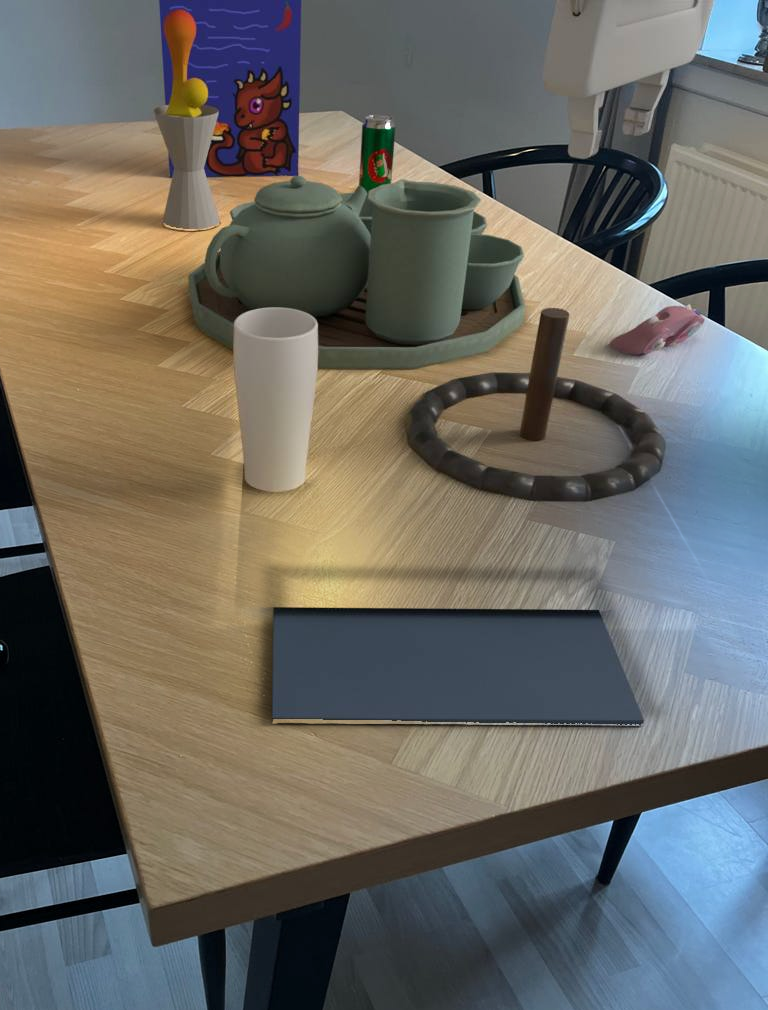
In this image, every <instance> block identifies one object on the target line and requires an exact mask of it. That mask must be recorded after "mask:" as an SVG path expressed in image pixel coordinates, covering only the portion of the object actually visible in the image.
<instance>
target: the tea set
mask: <svg viewBox="0 0 768 1010" xmlns="http://www.w3.org/2000/svg"><path fill="white" fill-rule="evenodd" d="M253 200H254V201H250V202H245V203H241V204H238V205H236V206H235V207H234V208H233V209H231V210H230V211H229V214H230V217H231V222H230V223H229V225H227V226H224V227H221V229H220V230H218V232H217V233H215V235H214V236H213V237H212V239H211V241H210V243H209V245H208V246H207V249H206V253H205V258H204V263H202V264H201V265H199V266H198V267H197V268H196V269H195V270H193V271H192V272H190V273H189V274H188V279H187V280H188V292H189V299H190V304H191V310H192V314H193V320H194V323H195V325H196V327H197V328H198V331H200V332H201V333H203V334H205V335H206V336H208V337H209V338H211V339H212V340H215V341H216V342H218V343H219V344H221V345H222V346H224V347H226V348H227V349H229V350H231V351H232V352H233V337H234V321H235V320H236V318H237V317H238V316H240V315H241V314H243V313H245V312H248V311H251V310H255V309H260V308H269V307H281V308H290V309H296V310H300V311H303V312H306V313H308V314H310V315H311V316H313V317H314V318H315V319H316V320H317V323H318V369H320V370H413V371H414V370H418V369H422V368H427V367H430V366H435V365H439V364H443V363H448V362H453V361H457V360H461V359H465V358H470V357H473V356H477V355H482V354H486V353H488V352H489V351H490V350H492V349H493V348H494V347H495V346H497V345H498V344H499V343H501V342H502V341H503V340H505V339H506V338H507V337H508V336H510V335H511V334H512V333H513V332H515V331H516V330H517V329H518V328H519V327H521V326H522V325H523V323H524V318H525V313H526V304H525V301H524V296H523V291H522V287H521V283H520V278H519V277H518V275H516V272H517V269H518V267H519V265H520V264H521V262H522V261H523V259H524V258H525V253H524V250H523V247H522V246H521V245H519V244H517V243H516V242H513V241H511V240H510V239H506V238H503V237H499V236H496V235H490V234H483V233H484V232H485V230H486V229H487V227H488V222H487V221H488V220H487V217H485V216H483V215H481V214H480V213H478V212H476V211H475V210H476V209H477V207H479V205H480V204H481V202H482V199H481V198H480V197H479V196H478V195H477V194H476V193H475V192H474V191H472V190H469V189H466V188H463V187H460V186H458V185H453V184H446V183H439V182H432V181H415V180H409V179H402V178H400V179H399V180H397V181H394V182H393V183H392V182H391V184H385V185H381V186H379V187H377V188H374V189H372V190H370V191H369V192H368V193H367V192H366V190H365V189H364V188H363V187H361V186H359V185H357V187H356V189H355V190H354V191H353V192H341V193H339V192H338V190H337V189H336V188H334V187H333V186H330V185H327V184H325V183H323V182H316V181H309V180H307V179H306V178H305V177H304V176H302V175H298V176H292V178H291V179H290V180H285V181H277V182H272V183H270V184H268V185H265V186H262V187H261V188H260V189H259V190H258V191H257V192H256V195H255V196H254V198H253Z"/></svg>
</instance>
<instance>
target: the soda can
mask: <svg viewBox="0 0 768 1010" xmlns="http://www.w3.org/2000/svg"><path fill="white" fill-rule="evenodd" d="M394 120H395V119H394V117H393V116H391V115H385V114H371V115H366V116H365V117H364V121H363V123H362V125H361V139H360V157H359V158H360V159H359V161H360V162H359V175H358V176H359V177H358V186H361V187H363V188H364V189H365V190H366V192H367V193H368V192H369V191H370V190H372V189H374V188H377V187H379V186H381V185H385V184H392V179H393V167H394V153H395V139H396V127H397V126H396V125H395V122H394Z"/></svg>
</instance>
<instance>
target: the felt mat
mask: <svg viewBox="0 0 768 1010" xmlns="http://www.w3.org/2000/svg"><path fill="white" fill-rule="evenodd" d="M272 611H273V613H272V614H273V616H272V617H273V619H272V678H271V679H272V681H271V683H272V686H271V692H272V694H271V720H272V719H323V720H392V721H397V720H401V721H422V722H426V721H427V722H466V723H467V722H474V723H476V722H479V723H506V722H509V723H513V722H516V723H545V724H547V723H551V724H553V723H554V724H558V723H560V724H564V723H566V724H570V723H571V724H575V723H577V724H578V723H579V724H580V723H582V724H586V723H588V724H591V723H592V724H617V725H618V724H620V725H622V724H625V725H627V724H630V725H632V724H635V725H636V724H639V725H641V724H643V725H644V722H645V718H644V715H643V714H642V712H641V709H640V707H639V704H638V702H637V699H636V696H635V695H634V693H633V692H634V691H633V689H632V687H631V685H630V682H629V680H628V677H627V675H626V672H625V670H624V667H623V666H622V662H621V660H620V657H619V655H618V652H617V650H616V648H615V645H614V643H613V640H612V638H611V635H610V632H609V631H608V628H607V626H606V623H605V621H604V619H603V616H602V614H601V611H600V609H560V608H559V609H558V608H557V609H556V608H555V609H554V608H553V609H552V608H550V609H549V608H546V609H544V608H543V609H542V608H541V609H540V608H435V607H434V608H432V607H431V608H430V607H429V608H425V607H421V608H420V607H413V608H412V607H411V608H410V607H312V606H311V607H310V606H309V607H307V606H304V607H303V606H299V607H298V606H297V607H296V606H295V607H294V606H293V607H292V606H289V607H288V606H273V610H272Z"/></svg>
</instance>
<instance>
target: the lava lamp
mask: <svg viewBox="0 0 768 1010" xmlns="http://www.w3.org/2000/svg"><path fill="white" fill-rule="evenodd" d="M164 33H165V37H166V40H167V43H168V46H169V49H170V54H171V59H172V63H173V87H172V95H171V99H170V102H169V105H165V104H164V105H161V106H157V107H156V108H154V109H153V113H154V117H155V119H156V123H157V126H158V127H159V131H160V134H161V136H162V139H163V141H164V144H165V147H166V149H167V152H169V155H170V158H171V161H172V163H173V166H174V172H173V176H172V178H171V181H170V186H169V189H168V190H169V191H168V194H167V200H166V204H165V209H164V213H163V217H162V222H163V223H165V224H166V225H169V226H171V227H176V228H183V229H203V228H208V227H211V226H215V225H217V224H218V223H219V222H221V219H220V217H219V213H218V209H217V206H216V203H215V200H214V197H213V193H212V191H211V187H210V184H209V181H208V177H206V174H205V171H204V166H205V162H206V158H207V154H208V151H209V147H210V143H211V140H212V136H213V132H214V129H215V125H216V121H217V117H218V113H219V110H218V109H217V108H215V107H212V106H208V105H204V104H205V102H206V101H207V98H208V89H207V86H206V84H205V83H204V82H203V81H202V80H200V79H198V78H191V79H189V80H187V63H188V59H189V54H190V50H191V47H192V44H193V41H194V38H195V35H196V24H195V21H194V19H193V17H192V16H191V15H190V14H189V13H188V12H186V11H184V10H180V9H178V10H174V11H172V12H170V13H169V14H168V15H167V17H166V19H165V22H164ZM163 223H162V224H163Z"/></svg>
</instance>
